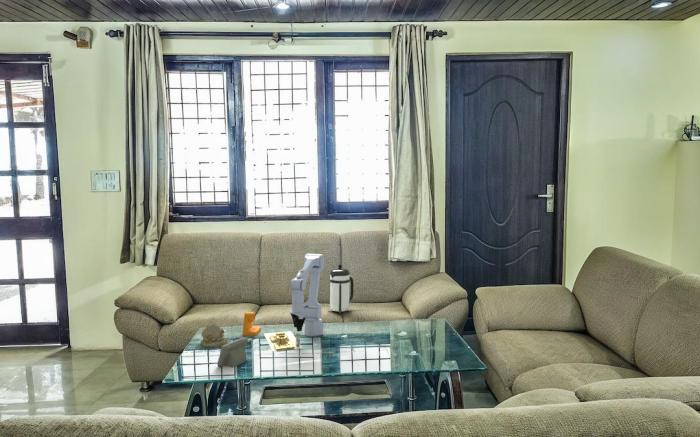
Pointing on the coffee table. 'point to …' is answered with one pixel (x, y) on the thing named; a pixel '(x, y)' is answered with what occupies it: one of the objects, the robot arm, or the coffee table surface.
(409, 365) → the coffee table surface
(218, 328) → the ceramic model
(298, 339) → the pin
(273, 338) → the loose leaf
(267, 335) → the board
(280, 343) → the fixed leaf
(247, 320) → the bracket
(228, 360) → the digital clock
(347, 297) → the coffee press
